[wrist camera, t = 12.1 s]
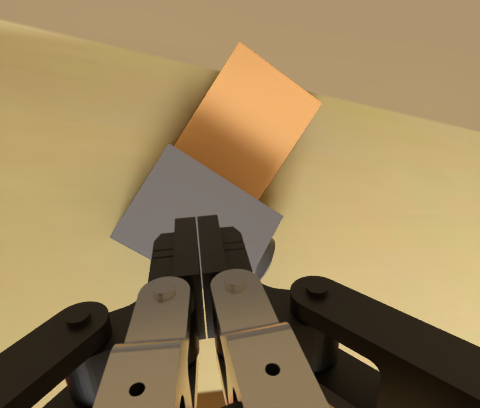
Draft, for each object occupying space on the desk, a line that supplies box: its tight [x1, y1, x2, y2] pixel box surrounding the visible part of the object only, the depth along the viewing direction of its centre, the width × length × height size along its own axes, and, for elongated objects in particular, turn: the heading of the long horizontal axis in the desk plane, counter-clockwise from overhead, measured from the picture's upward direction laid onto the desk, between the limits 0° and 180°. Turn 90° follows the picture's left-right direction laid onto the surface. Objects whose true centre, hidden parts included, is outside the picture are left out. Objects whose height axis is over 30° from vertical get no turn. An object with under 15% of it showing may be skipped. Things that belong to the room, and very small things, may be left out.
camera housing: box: [110, 143, 283, 288], centre depth 36 cm, size 14×9×10 cm, turn 59°
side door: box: [174, 42, 322, 200], centre depth 40 cm, size 11×2×15 cm
